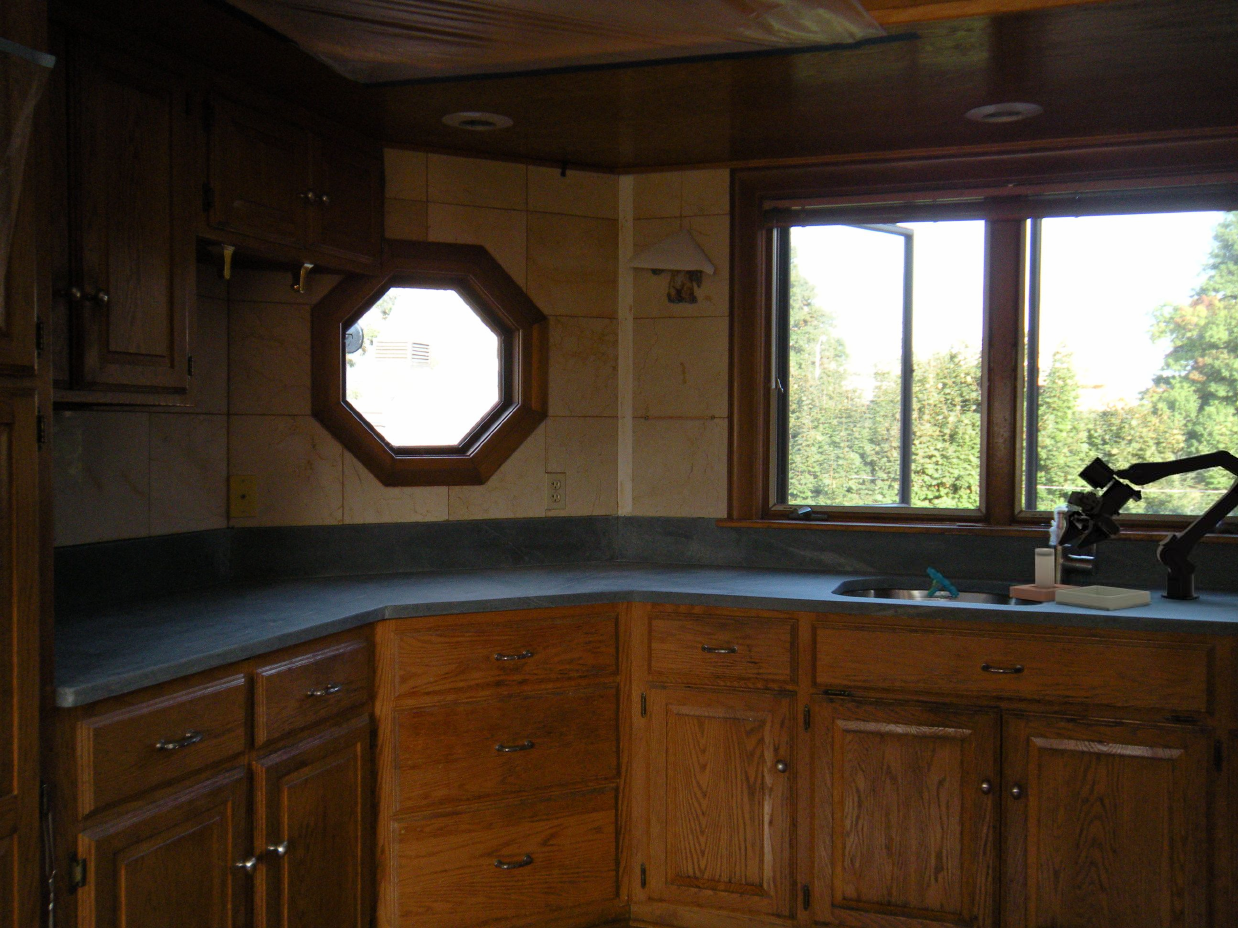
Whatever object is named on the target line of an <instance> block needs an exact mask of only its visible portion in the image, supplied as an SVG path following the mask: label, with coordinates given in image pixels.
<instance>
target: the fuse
mask: <svg viewBox="0 0 1238 928" xmlns="http://www.w3.org/2000/svg"><path fill="white" fill-rule="evenodd" d="M1034 557H1035V558H1034V559H1035V560H1034V561H1035V565H1034V567H1035V569H1034V570H1035V571H1034V572H1035V581H1034V582H1035V583H1034V584H1035V588H1043V589H1053V588H1054V584H1055V549H1054V548H1042V547H1040V548H1039V547H1038V548H1035V549H1034Z"/></svg>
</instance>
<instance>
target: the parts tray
mask: <svg viewBox="0 0 1238 928" xmlns="http://www.w3.org/2000/svg"><path fill="white" fill-rule="evenodd" d="M1054 601H1055V604H1059V605H1065V604H1067V606H1072V605H1075V606H1074V607H1080V606H1082V607H1081V608H1087V607H1089V608H1088V609H1094V608H1095V610H1102V609H1106V610H1105V611H1109V610H1110V611H1114V609H1116V610H1122V609H1128V608H1135V607H1142V606H1148V605H1151V591H1145V590H1138V589H1130V588H1121V587H1113V586H1112V587H1111V586H1103V585H1091V586H1090V585H1089V586H1083V587H1081V586H1080V588H1073V589H1065V590H1057V591H1055V600H1054Z"/></svg>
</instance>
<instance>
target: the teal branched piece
mask: <svg viewBox="0 0 1238 928" xmlns="http://www.w3.org/2000/svg"><path fill="white" fill-rule="evenodd" d="M926 573H927V574H928V575H929V577H930V578H931V579H932V580H933V581H932V584H931V588H930V589H929V590H928V591H927V592H926V594H927V596H928V597H929V598H932V597H933V596H934V595H935V594H936V593H937V592H938V591H941V590H942V589H943V590H944V591H945V592H948V593H949V594H950V595H951V596H954V597H955V598H957V597H958V596H959V595H960V592H959V591H958V590H957V588H956V587H955V586H954V585H952V584H951V582H950V581H949V580H948V579H946V578H945V577H944V576H943V575H942V574H941V573H940V572H937V571H936V570H935V569H933V568H932V567H928V568H927V569H926Z"/></svg>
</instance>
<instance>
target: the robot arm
mask: <svg viewBox="0 0 1238 928" xmlns="http://www.w3.org/2000/svg"><path fill="white" fill-rule="evenodd" d="M1218 467H1220V468H1222V469H1224V470H1225V471H1227V472H1229V473H1230V474H1231V475H1233V476H1235V477H1236V478H1235V479H1234V480H1233V482H1232V484H1231V485H1230V487H1229V489H1228V490H1227V491H1226V492H1225V493H1224V494H1223V495H1222V496H1220V498H1218V500H1216V501H1215V502H1214V503H1213V504H1212V505H1211V506H1210V507H1208V508H1207V510H1205V511H1204V512H1203V513H1202V514H1201V515H1200V516H1199V517H1198V518H1196V520H1195V521H1193V522H1192V523H1191V524H1190V525H1189V526H1188V527H1187V528H1186V529H1185V530H1183V531H1181V532H1180V533H1178V534H1176V533H1175V532H1173V531H1170V532H1169V534H1168V535H1167V536H1166V538H1164V540H1162V541H1159V546H1158V548H1157V551H1156V555H1157V559H1158V560H1159V562H1161V564H1163V565H1164V566H1165V567H1166V569H1167V570H1168V571H1167V572H1166V593H1163V594H1160V597H1162V598H1170V599H1178V600H1191V599H1198V598H1201V596H1200V594H1199V595H1198V594H1195V592H1194V591H1195V578H1194V577H1195V576H1194V575H1195V570H1196V568H1197V567H1196V566H1195V564H1194V563H1192V561H1190V560H1189V559H1188V557H1190V555H1191V553H1192V552H1193V550H1194V549H1195V547H1196V546H1197V544H1198V543H1199V542H1200V541H1201V540H1202V539H1203V538H1204V537H1205V536H1206V535H1207V534H1209V533H1210V532H1211V531H1212V530H1213V529H1214V528H1215V527H1216V526H1217V525H1218V524H1219V523H1220V522H1222V521H1223V520H1224V519H1225V518H1226V517H1227V516H1228V515H1230V513H1231V512H1232V511H1234V510H1235V509H1236V508H1237V507H1238V456H1235V455H1234V454H1232V453H1231V452H1230V451H1229V450H1226V449H1218V450H1215V451H1213V452H1208V453H1203V454H1197V455H1192V456H1187V457H1182V458H1176V459H1171V460H1167V461H1146V462H1143V461H1141V462H1134V463H1131V464H1130V465H1128V467H1127V468H1122V469H1119V468H1117V469H1116V470H1114V469H1113V468H1112V467H1110V466H1109V465H1108V464H1107V463H1106V462H1104V460H1103V459H1102V458H1101V457H1099V456H1096V457H1095V458H1094V459H1093V460H1092V461H1091V462H1090V463H1089V464H1087V465H1086V466H1084V468H1083V469H1082V470H1081V471H1080V472H1079V473H1078V474H1077V476H1078V477H1079V478H1080V479H1081V480H1082V481H1084V482H1085V483H1086V484H1087V485H1089V486H1090V487H1091V488H1092V489H1093V490H1094V491H1097V489H1098V488H1099V490H1101V491H1103V490H1104V489H1105V488H1106V487H1107V486H1108V485H1109V484H1110V483H1111V484H1110V485H1109V486H1108V487H1107V488H1106V489H1105V491H1104V492H1103V493H1101V494H1100V496H1097V493H1096V492H1094V491H1091V490H1088V491H1086V492H1082V491H1077V490H1072V491H1071V493H1070V494H1069V497H1068V499H1067V502H1066V503H1067V504H1069V505H1073V506H1076V507H1078V508H1080V510H1078V509H1077V510H1075V509H1067V510H1066V511H1065V512H1064V513H1063V515H1062V516H1063V521H1064V522H1065V523H1064V524H1065V528H1064V529H1063V531H1062V534H1061V536H1060V538H1059V540H1058V542H1057V544H1058V546H1060V547H1063V546H1065V545H1067V544H1069V543H1072V542H1073V541H1075V540H1076V539H1078V538H1080V537H1081V538H1080V540H1079V541H1078V543H1077V544H1076V546H1075V548H1076V549H1077V550H1078V551H1080V550H1083V549H1085V548H1087V547H1090V546H1092V545H1096V544H1097V543H1101V542H1104V541H1107V540H1109V539H1110V540H1111V539H1112V538H1116V537H1117V536H1119V534H1120V533H1121V529H1122V528H1121V525H1120V524H1118V522H1117V521H1116V520H1115V519H1114V517H1119V516H1120V515H1121V514H1122V512H1120V511H1122V509H1123V508H1124V507H1125V506H1126V504H1128V503H1129V502H1130V501H1131V500H1133V501H1134V502H1135V503H1138V502H1140V501H1142V500H1143V496H1142V490H1141V489H1135V488H1133V487H1132V486H1131V485H1130V484H1132V485H1134V486H1138V487H1143V486H1145V485H1149V484H1151V483H1155V482H1157V481H1160V480H1162V479H1165V478H1167V477H1170V476H1175V475H1181V474H1187V473H1192V472H1197V471H1201V470H1202V471H1203V470H1207V469H1213V468H1218ZM1119 479H1120V480H1125V481H1128V482H1126V483H1123V482H1122V481H1120V480H1119ZM1128 483H1130V484H1128Z"/></svg>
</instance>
